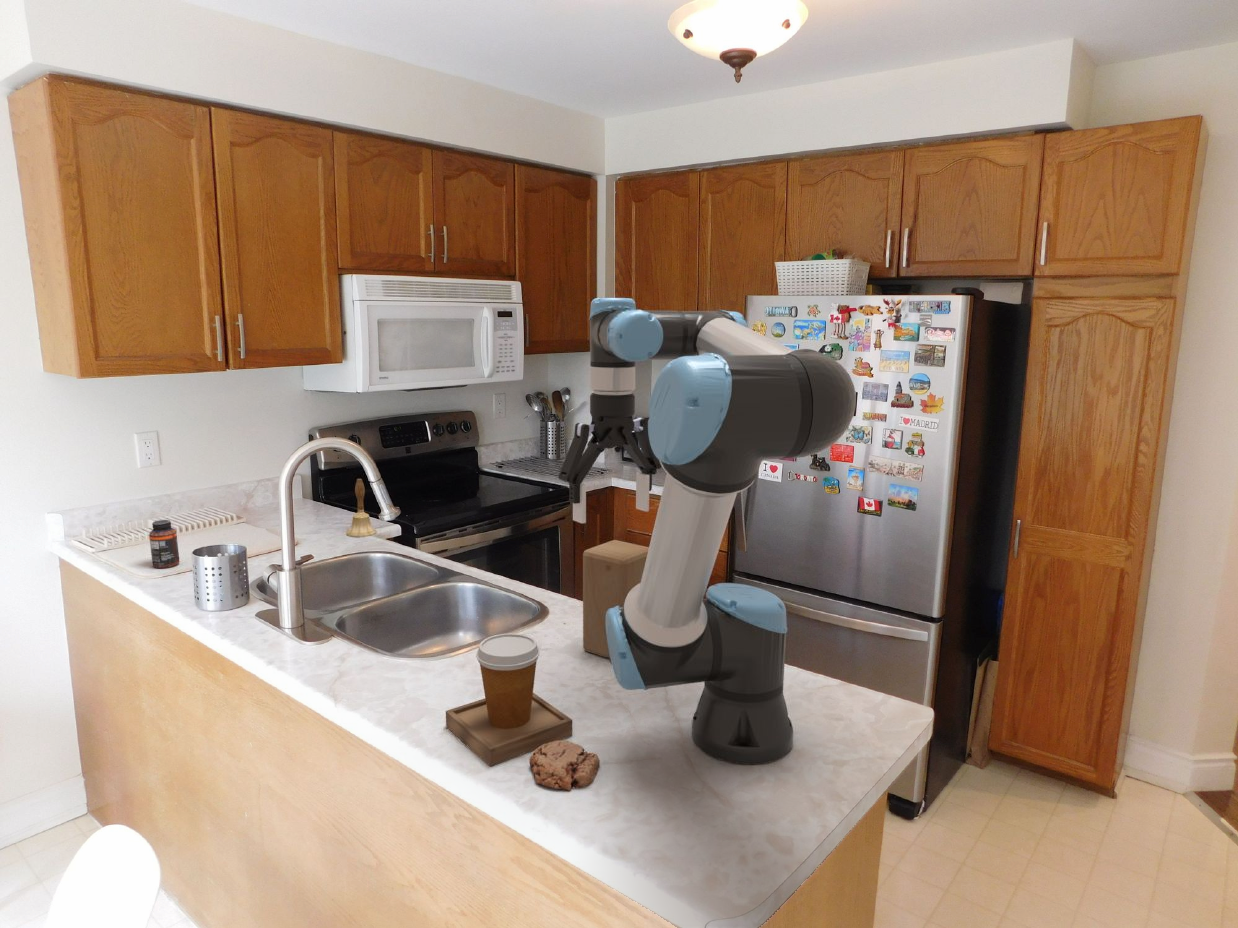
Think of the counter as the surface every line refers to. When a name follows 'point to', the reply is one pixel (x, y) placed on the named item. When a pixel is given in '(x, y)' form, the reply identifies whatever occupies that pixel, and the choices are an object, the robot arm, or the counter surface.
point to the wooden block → (607, 587)
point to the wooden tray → (507, 730)
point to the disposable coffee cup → (508, 677)
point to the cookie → (563, 765)
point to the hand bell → (360, 516)
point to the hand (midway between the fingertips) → (611, 515)
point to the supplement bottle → (164, 545)
